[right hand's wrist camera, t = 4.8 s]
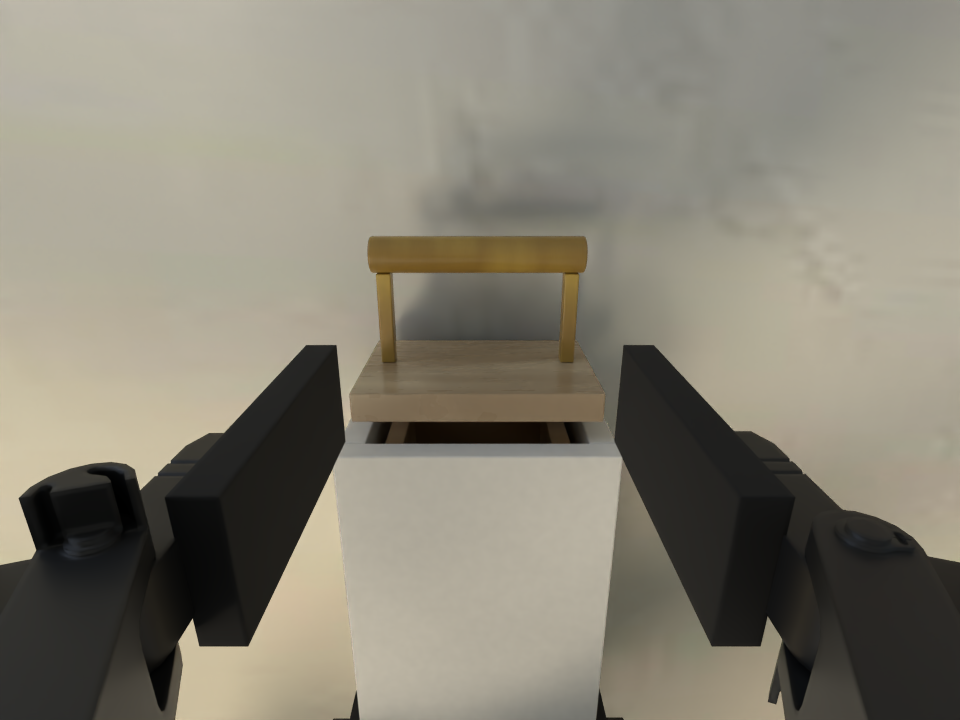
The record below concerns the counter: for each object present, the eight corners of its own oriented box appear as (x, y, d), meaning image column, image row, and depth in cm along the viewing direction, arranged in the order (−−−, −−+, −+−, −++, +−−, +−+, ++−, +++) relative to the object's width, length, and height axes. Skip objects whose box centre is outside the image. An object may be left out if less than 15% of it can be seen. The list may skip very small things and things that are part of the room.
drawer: (371, 228, 25) (335, 250, 19) (584, 228, 25) (618, 250, 19) (399, 639, 33) (380, 746, 27) (557, 638, 33) (575, 746, 27)
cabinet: (373, 372, 28) (330, 456, 20) (582, 372, 28) (623, 456, 20) (394, 666, 35) (369, 816, 27) (562, 666, 35) (586, 815, 27)
